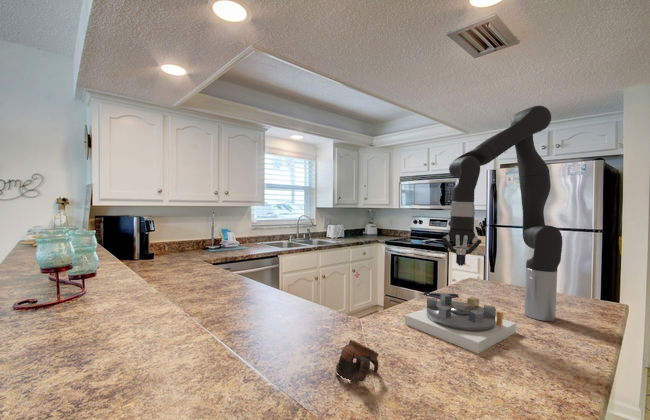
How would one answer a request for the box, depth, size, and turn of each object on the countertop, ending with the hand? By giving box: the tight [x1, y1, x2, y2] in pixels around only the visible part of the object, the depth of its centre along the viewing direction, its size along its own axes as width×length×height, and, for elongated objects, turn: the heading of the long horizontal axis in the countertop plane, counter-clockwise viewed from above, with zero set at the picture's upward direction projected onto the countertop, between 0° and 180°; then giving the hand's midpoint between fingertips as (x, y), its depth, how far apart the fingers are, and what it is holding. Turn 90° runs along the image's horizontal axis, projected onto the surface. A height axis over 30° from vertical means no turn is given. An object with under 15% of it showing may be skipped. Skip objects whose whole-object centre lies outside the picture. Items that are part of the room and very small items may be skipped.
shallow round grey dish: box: [426, 293, 497, 331], centre depth 98 cm, size 20×20×5 cm
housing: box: [404, 307, 517, 354], centre depth 98 cm, size 24×24×7 cm
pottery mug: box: [335, 339, 379, 382], centre depth 69 cm, size 12×10×8 cm
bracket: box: [422, 292, 459, 300], centre depth 127 cm, size 14×15×3 cm
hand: (460, 265), depth 106 cm, fingers closed
